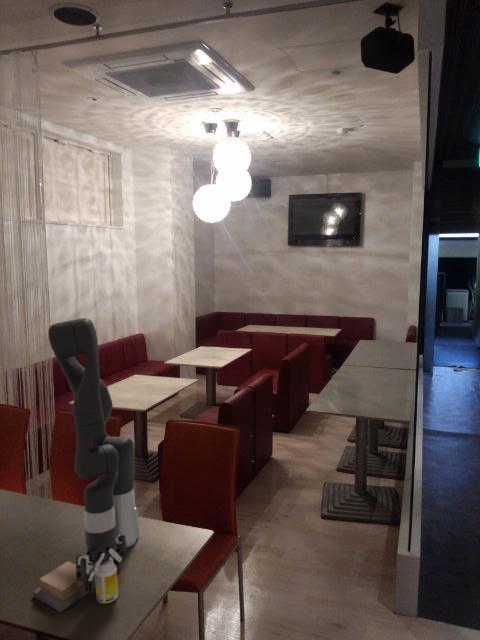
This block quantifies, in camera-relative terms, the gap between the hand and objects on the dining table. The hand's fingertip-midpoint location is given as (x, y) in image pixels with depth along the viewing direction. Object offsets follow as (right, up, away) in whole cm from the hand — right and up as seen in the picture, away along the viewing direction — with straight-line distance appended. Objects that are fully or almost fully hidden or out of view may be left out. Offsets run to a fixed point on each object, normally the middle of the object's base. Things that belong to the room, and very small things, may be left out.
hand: (103, 583), depth 131 cm
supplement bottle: (+1, -4, +1) cm, 5 cm away
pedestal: (-11, -4, +4) cm, 12 cm away
